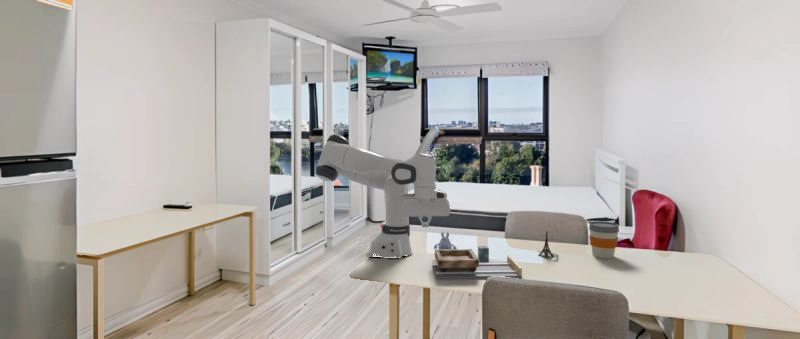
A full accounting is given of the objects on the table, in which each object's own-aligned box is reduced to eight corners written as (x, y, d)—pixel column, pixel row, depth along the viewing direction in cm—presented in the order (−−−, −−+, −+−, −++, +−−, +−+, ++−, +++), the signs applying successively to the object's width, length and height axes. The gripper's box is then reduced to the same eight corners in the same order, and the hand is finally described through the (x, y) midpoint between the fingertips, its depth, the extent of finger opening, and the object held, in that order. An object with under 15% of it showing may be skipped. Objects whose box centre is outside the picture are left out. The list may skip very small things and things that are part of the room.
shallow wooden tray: (438, 274, 171) (438, 260, 170) (434, 261, 187) (434, 249, 186) (478, 273, 171) (479, 260, 171) (471, 261, 187) (471, 249, 187)
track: (436, 279, 170) (436, 269, 170) (432, 265, 188) (432, 256, 188) (521, 278, 171) (522, 268, 170) (509, 264, 189) (509, 255, 188)
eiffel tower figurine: (558, 263, 192) (559, 233, 190) (534, 260, 195) (535, 232, 194) (558, 254, 206) (559, 226, 204) (536, 252, 209) (537, 225, 208)
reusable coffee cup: (611, 252, 206) (612, 221, 205) (622, 260, 194) (623, 227, 192) (584, 251, 207) (585, 221, 206) (593, 259, 195) (594, 227, 194)
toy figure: (432, 259, 197) (432, 233, 196) (434, 255, 203) (434, 230, 202) (455, 260, 195) (456, 234, 194) (457, 256, 201) (457, 231, 200)
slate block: (479, 261, 193) (480, 248, 193) (478, 258, 197) (478, 246, 197) (488, 261, 194) (488, 248, 193) (486, 258, 198) (486, 245, 197)
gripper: (399, 194, 171) (399, 229, 172) (450, 194, 171) (450, 228, 172) (399, 192, 177) (399, 225, 178) (448, 192, 177) (448, 224, 179)
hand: (425, 226), depth 175 cm, fingers closed
